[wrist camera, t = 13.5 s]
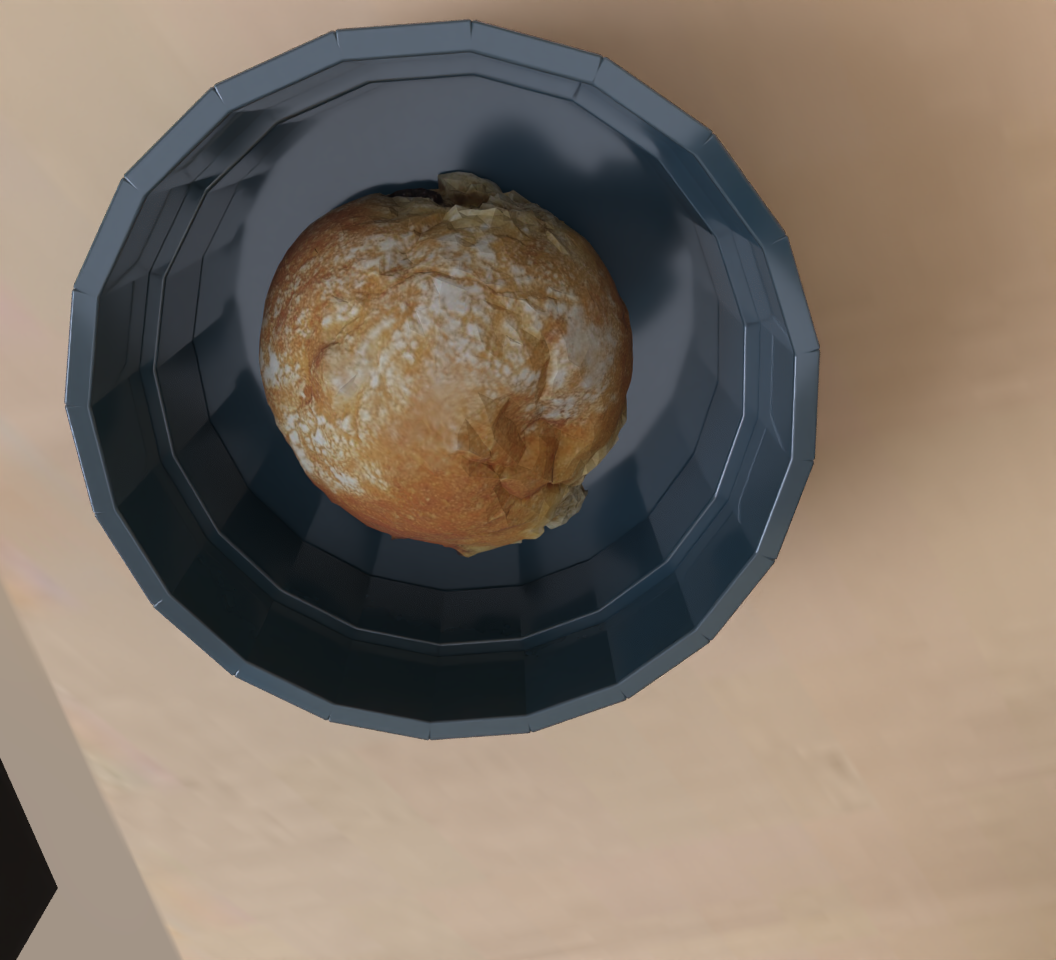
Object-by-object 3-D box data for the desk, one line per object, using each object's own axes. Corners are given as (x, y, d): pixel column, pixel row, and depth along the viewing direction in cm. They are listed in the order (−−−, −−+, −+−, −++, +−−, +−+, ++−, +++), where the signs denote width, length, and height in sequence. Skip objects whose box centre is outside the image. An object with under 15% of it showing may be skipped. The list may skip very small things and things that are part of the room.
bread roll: (598, 199, 30) (604, 81, 22) (656, 524, 29) (685, 524, 21) (288, 257, 30) (184, 162, 22) (340, 578, 30) (252, 599, 22)
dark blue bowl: (865, 260, 28) (975, 314, 21) (548, 687, 33) (559, 832, 27) (338, -104, 24) (277, -173, 18) (76, 443, 29) (-44, 545, 23)
